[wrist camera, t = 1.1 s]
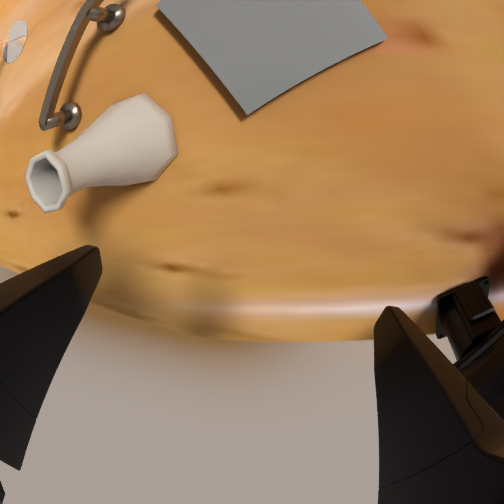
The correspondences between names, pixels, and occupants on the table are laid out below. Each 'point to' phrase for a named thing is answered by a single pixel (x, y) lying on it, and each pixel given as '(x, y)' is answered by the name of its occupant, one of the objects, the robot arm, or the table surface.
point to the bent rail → (71, 111)
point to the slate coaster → (272, 40)
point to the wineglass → (14, 41)
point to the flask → (106, 153)
